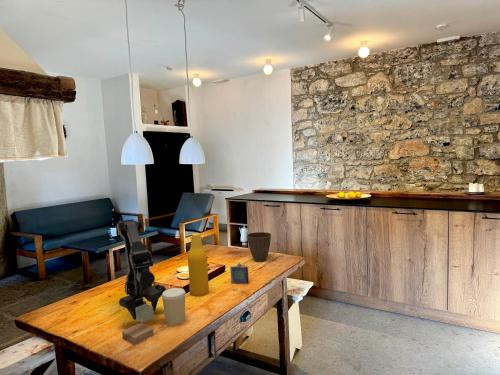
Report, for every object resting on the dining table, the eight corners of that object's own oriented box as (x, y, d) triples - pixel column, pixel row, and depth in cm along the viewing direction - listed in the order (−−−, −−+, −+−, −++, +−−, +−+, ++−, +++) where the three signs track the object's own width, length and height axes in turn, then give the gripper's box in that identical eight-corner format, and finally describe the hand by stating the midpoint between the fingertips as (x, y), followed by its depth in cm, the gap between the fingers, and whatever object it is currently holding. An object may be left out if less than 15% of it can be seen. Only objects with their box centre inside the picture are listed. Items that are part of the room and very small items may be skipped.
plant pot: (242, 261, 211) (241, 236, 209) (257, 255, 223) (256, 231, 221) (262, 265, 202) (261, 239, 200) (276, 258, 214) (275, 233, 212)
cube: (136, 319, 142) (135, 308, 142) (146, 314, 146) (145, 303, 146) (143, 322, 139) (142, 311, 139) (153, 317, 143) (152, 306, 143)
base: (122, 339, 128) (122, 331, 128) (141, 329, 135) (140, 322, 134) (135, 345, 123) (134, 337, 123) (153, 335, 130) (153, 328, 129)
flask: (230, 283, 177) (229, 263, 176) (231, 281, 180) (231, 261, 178) (248, 284, 175) (247, 263, 174) (249, 282, 178) (248, 261, 177)
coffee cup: (177, 313, 147) (175, 285, 145) (191, 319, 141) (190, 290, 139) (158, 321, 139) (156, 293, 138) (173, 328, 134) (171, 299, 132)
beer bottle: (210, 294, 164) (207, 235, 161) (191, 297, 161) (187, 237, 158) (207, 287, 173) (203, 231, 170) (188, 290, 170) (184, 233, 167)
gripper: (133, 291, 129) (136, 330, 131) (172, 275, 143) (175, 311, 145) (116, 284, 136) (120, 322, 137) (156, 270, 150) (158, 305, 152)
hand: (144, 315), depth 143 cm, fingers open, 9 cm apart
